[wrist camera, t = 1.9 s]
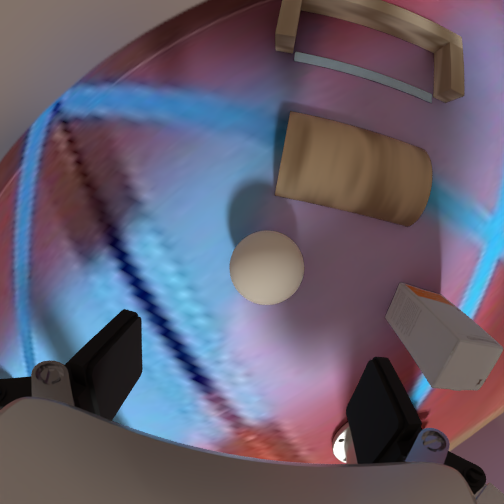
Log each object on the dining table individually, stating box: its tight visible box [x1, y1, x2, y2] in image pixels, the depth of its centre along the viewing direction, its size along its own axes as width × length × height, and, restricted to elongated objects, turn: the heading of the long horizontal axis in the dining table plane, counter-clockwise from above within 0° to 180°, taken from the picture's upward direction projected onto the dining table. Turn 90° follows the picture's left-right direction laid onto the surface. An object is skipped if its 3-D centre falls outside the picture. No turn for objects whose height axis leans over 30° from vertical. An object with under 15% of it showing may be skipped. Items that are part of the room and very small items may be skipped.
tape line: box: [294, 52, 432, 103], centre depth 21 cm, size 14×1×1 cm, turn 80°
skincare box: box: [385, 282, 503, 391], centre depth 21 cm, size 6×4×12 cm
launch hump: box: [275, 111, 432, 227], centre depth 25 cm, size 13×8×8 cm, turn 80°
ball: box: [230, 231, 304, 305], centre depth 23 cm, size 6×6×6 cm
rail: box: [275, 0, 464, 103], centre depth 19 cm, size 18×7×4 cm, turn 80°
